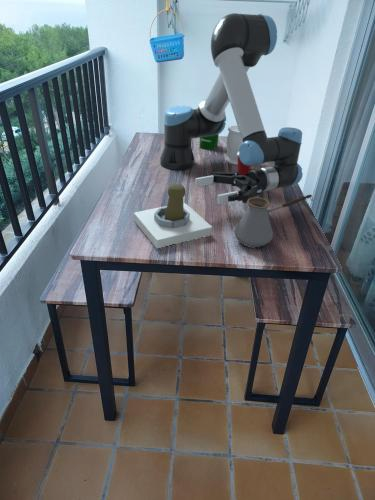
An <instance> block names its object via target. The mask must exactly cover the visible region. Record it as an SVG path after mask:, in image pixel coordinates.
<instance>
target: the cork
mask: <svg viewBox="0 0 375 500" xmlns="http://www.w3.org/2000/svg"><path fill="white" fill-rule="evenodd" d="M167 195H168V200H167V205H166V206H167V209H166V213H165V218H164V219H165V220H169V221H176V220H180V219H184V207H183V203H184V197H185V195H186V187H185V186H184V185H182V184H179V183H173V184H170V185H169V186H168V187H167Z"/></svg>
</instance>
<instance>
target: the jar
mask: <svg viewBox="0 0 375 500" xmlns="http://www.w3.org/2000/svg"><path fill="white" fill-rule="evenodd" d="M227 131H228V133H227V136H226V137H227V138H226V154H227V157H228V158H227V160H226V162H227V163H229V164H231V165H236V166H237V162H238V155H237V153H238V151H239V147H240V145H241V144H242V143H243V141H242V138H241V134H240V131H239V128H238V125H230V126H228V127H227Z"/></svg>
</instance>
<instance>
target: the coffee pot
mask: <svg viewBox="0 0 375 500" xmlns="http://www.w3.org/2000/svg"><path fill="white" fill-rule="evenodd" d="M307 199H310V201H311V202H313V201H314V198H313V195H312V194H307V195H304V196H301V197H298V198H295V199H292V200H289V201H287V202H285V203H283V204H280V205H277V206H275V207H272V208H269V207H270V205H271V203H270V201H269V200H268V199H266V198H262V197H256V196H255V197H254V198H250V199H248V200H247V203H246V204H247V206H248V207H247V208H246V210H245V212H244V213H243V215H242V216H241V219H239V221H238V223H237V224H236V226H235V228H234V230H233V232H234V236H235V238H236V239H237V241H239V243H240V244H242V243H243V244H245V245H247V246H250V247H249V248H251V247H259V248H261V247H260V246H262V247H264V246H267V244H269V243H270V242H271V241H272V240H273V237H274V231H273V227H272V224H271V221H270V217H269V213H272V212H275V211H277V210H280V209H283V208H286V207H289V206H292V205H296V204H298V203H300V202H302V201H305V200H307ZM268 208H269V209H268ZM243 244H242V245H243ZM247 246H246V247H247Z"/></svg>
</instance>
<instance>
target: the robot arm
mask: <svg viewBox="0 0 375 500" xmlns="http://www.w3.org/2000/svg"><path fill="white" fill-rule="evenodd" d="M277 29H278V28H277V25H276V22H275V21H274V19H273V17H271V16H269V15H265V14H263V13H258V14H249V13H248V14H247V13H232V12H231V13H228V14H226V15H225V16H223V17H222V18H220V20H218V22H217V24H216V25H215V27H214V29H213V32H212V34H211V40H210V51H211V57H212V60H213V64H214V66H215V67H216V68H218V69H219V74H218V76H217V78H216V80H215V81H214V84H213V86H212V87H211V90H210V92H209V94H208V95H207V97H206V99H203V100H202V101H201V102H200V103H199V106H198V107H197V108H192V107H191V106H189V105H176V106H173V107H170V108H168V109H167V110H165V112H164V117H163V118H164V120H163V126H164V130H163V131H164V136H163V137H164V146H163V150H162V153H161V156H160V166H162V167H164V168H167V169H171V170H186V169H187V170H188V169H191V168H193V167H194V166H195V164H196V163H195V162H196V159H195V156H194V152H193V148H192V142H193V141H192V139H197V138H198V139H200V137H208V136H215V135H218V134H219V135H220V134H221V133H222V132H224V130H225V127H226V125H227V124H226V121H227V116H226V108H227V107H228V105H229V103H230V106H231V109H232V112H233V116H234V118H235V121H236V126H238V128H239V131H240V134H241V138H242V141H243V143H242V144H241V145H240V147H239V158H240V160H241V162H242V163H243V164H244V165H247V166H251V165H255V166H259V165H261V164H267V163H273V162H274V164H273V166H266V167H262V168H257V169H254V170H251V171H249V172H248V173H247V174H246V175H245V176H244V175H241V176H240V175H239V172H237V171H233V172H231V171H230V172H228V171H210V175H207V176H201V177H195V179H194V181H195V182H194V187H196V188H197V187H204V186H207V185H208V186H209V185H214V183H218V184H225V185H231V187H237V188H238V187H239V188H238V189H239V190H238V191H237V190H236V191H230V192H226V193H220V194H217V200H216V204H217V205H220V204H226V203H230V202H235V201H237V202H242V204H247V200H248V199H250V198H254V197H256V196H259V195H261V194H262V192H266V191H270V190H274V189H280V188H286V187H291V186H293V185H297V184H298V183H300V182H301V181H302V178H303V175H304V174H303V172H302V171H303V168H302V166H301V165H300V164H299V163H298V161H299V157H300V152H301V151H300V150H301V146H302V140H303V139H302V138H303V132H302V130H301V129H299V128H296V127H289V126H288V127H282V128H280V129H279V130H278V133H277V136H272V137H268V136H267V133H266V131H265V127H264V123H263V121H262V117H261V114H260V111H259V108H258V104H257V102H256V98H255V95H254V92H253V89H252V85H251V82H250V79H249V76H248V71H249V69H250V68H253V67H256V66H257V64H258V62H259V61H260V59H261V58H262V56H268V55H270V54H271V53H272V52H273V51H274V50H275V48H276V45H277V41H278V30H277Z"/></svg>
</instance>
